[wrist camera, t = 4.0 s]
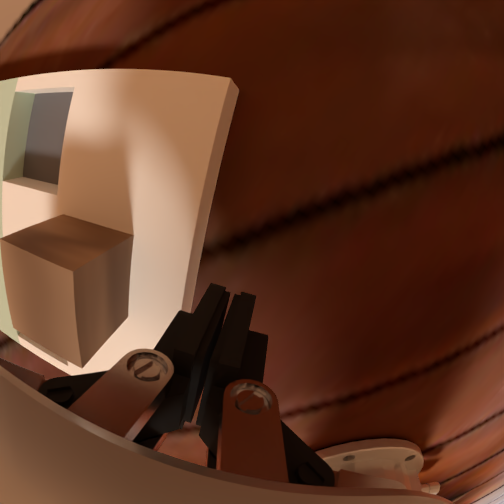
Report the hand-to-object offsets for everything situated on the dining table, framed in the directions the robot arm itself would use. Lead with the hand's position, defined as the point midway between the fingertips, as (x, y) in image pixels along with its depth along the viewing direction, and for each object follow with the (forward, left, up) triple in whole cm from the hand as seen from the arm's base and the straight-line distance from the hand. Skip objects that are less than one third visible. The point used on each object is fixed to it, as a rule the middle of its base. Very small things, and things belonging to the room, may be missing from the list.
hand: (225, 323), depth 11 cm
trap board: (+11, 0, -3) cm, 11 cm away
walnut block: (+6, 0, -1) cm, 7 cm away
